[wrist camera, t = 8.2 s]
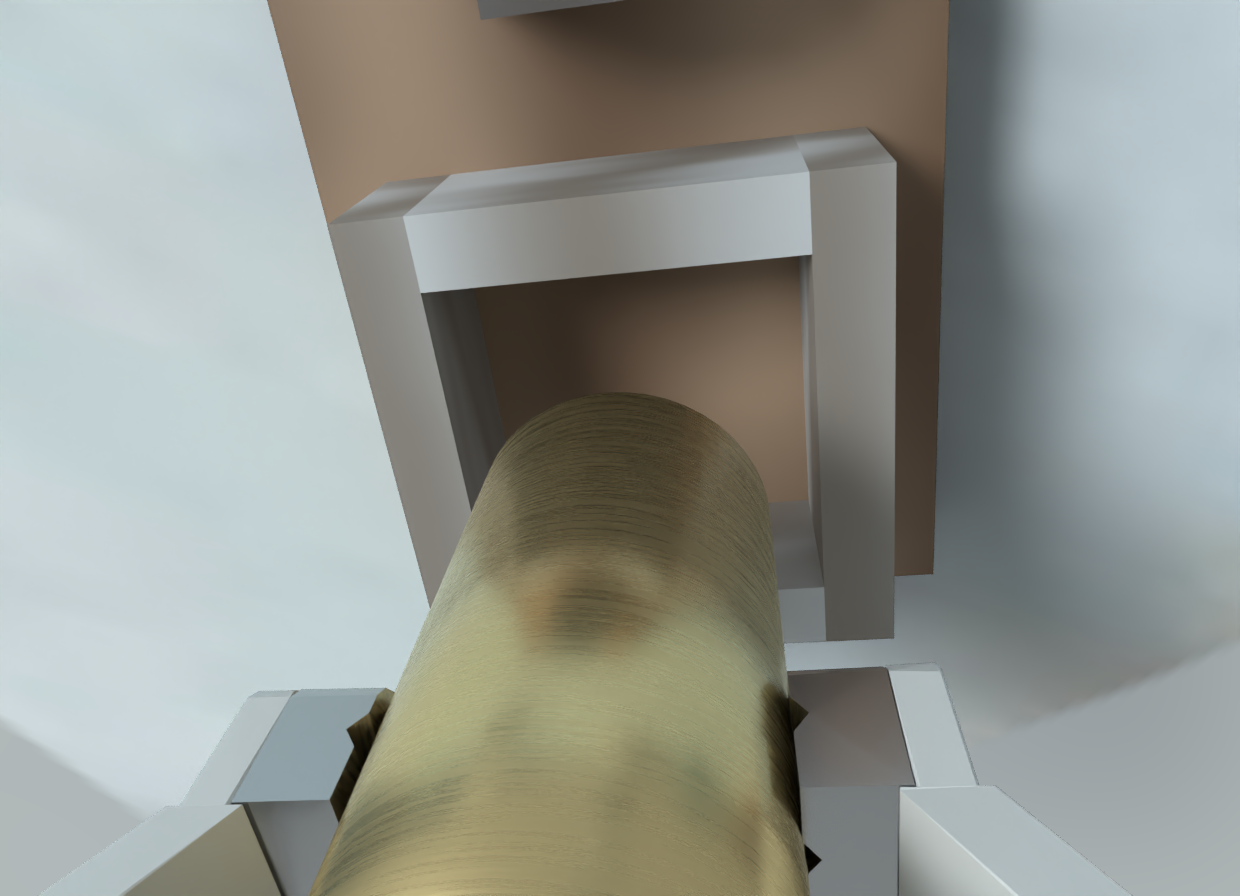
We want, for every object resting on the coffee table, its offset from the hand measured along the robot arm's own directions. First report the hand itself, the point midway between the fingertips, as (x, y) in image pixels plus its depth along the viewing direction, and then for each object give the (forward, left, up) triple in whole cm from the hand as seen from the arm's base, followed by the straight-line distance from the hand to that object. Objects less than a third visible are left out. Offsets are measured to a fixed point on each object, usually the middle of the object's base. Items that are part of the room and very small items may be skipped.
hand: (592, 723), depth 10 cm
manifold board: (0, -5, -11) cm, 12 cm away
